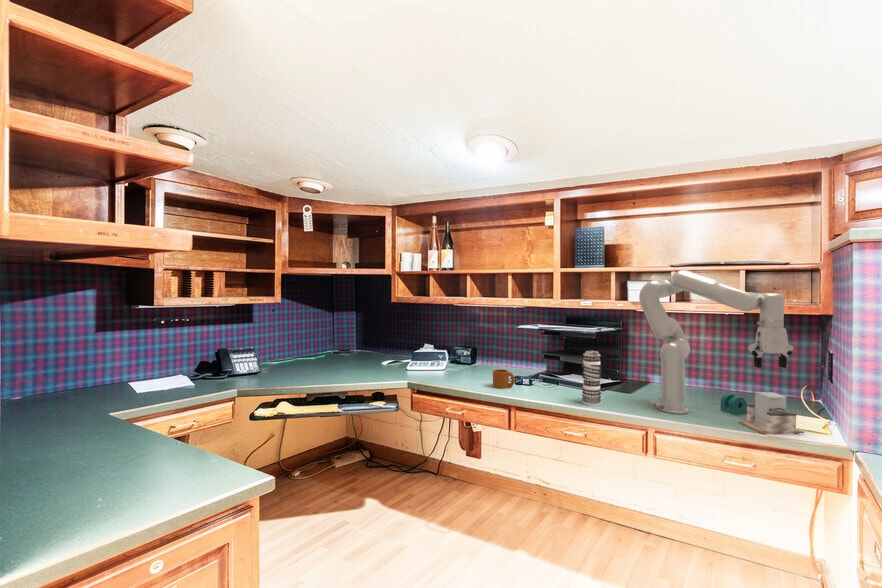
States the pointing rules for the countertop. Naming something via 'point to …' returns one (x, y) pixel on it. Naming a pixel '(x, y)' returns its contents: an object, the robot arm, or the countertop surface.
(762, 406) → the supplement box
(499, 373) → the mug
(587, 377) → the decorative candle
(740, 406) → the bracket
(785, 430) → the clip holder
